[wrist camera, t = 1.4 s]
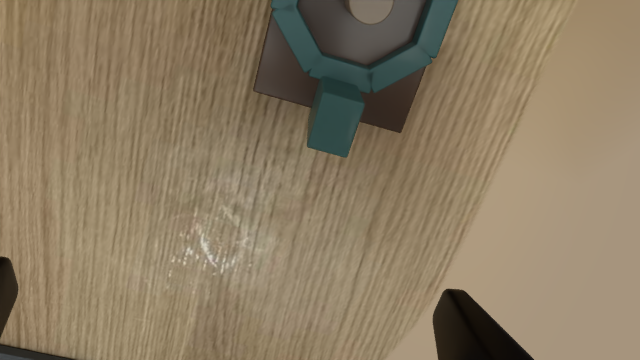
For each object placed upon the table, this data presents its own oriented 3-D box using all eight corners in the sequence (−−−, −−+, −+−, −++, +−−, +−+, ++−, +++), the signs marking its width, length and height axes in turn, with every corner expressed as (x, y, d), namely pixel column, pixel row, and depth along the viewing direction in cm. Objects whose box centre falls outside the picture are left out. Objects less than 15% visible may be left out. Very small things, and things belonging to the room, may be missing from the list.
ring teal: (303, -128, 17) (300, -159, 13) (477, -68, 18) (519, -81, 14) (249, 102, 20) (234, 128, 17) (397, 143, 21) (414, 177, 17)
